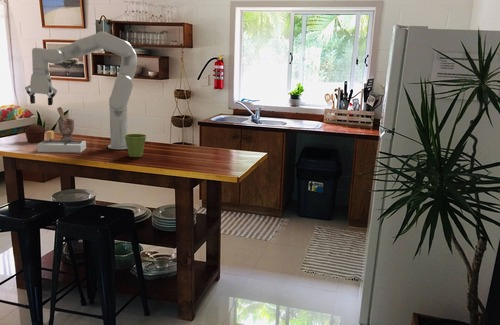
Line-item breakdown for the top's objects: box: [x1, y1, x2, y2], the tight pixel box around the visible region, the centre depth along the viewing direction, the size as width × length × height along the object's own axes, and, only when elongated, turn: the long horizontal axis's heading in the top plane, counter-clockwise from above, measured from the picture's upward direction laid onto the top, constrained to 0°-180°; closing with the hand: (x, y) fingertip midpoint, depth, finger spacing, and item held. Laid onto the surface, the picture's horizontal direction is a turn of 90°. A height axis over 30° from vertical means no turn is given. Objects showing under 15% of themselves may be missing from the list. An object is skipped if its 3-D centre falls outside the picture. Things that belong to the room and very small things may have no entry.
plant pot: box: [124, 133, 148, 158], centre depth 226 cm, size 12×12×11 cm
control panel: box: [36, 139, 87, 154], centre depth 233 cm, size 22×12×5 cm, turn 97°
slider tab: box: [45, 130, 55, 142], centre depth 231 cm, size 2×4×6 cm, turn 7°
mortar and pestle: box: [56, 107, 75, 141], centre depth 255 cm, size 12×9×20 cm
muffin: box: [23, 124, 47, 144], centre depth 249 cm, size 12×11×10 cm
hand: (41, 104), depth 228 cm, fingers open, 9 cm apart
